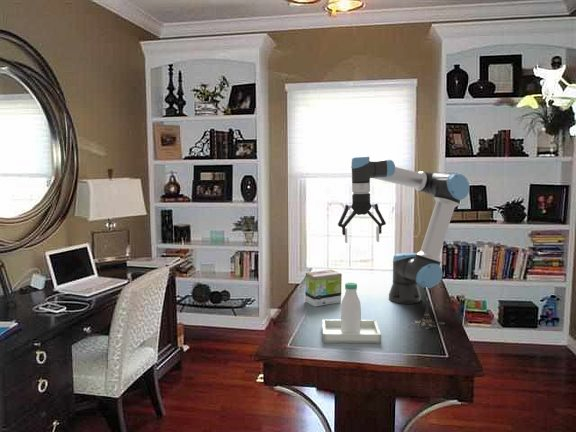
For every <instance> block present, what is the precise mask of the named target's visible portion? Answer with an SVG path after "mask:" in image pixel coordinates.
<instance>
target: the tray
mask: <svg viewBox="0 0 576 432" xmlns="http://www.w3.org/2000/svg"><path fill="white" fill-rule="evenodd" d="M321 323H322V325H321V326H322V342H323V344H326V343H327V344H382V333H381V331H380V327H379V325H378V322H377V320H376V319H361V332H360V333H342V332H341V319H326V318H325V319H323V318H322V322H321Z"/></svg>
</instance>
